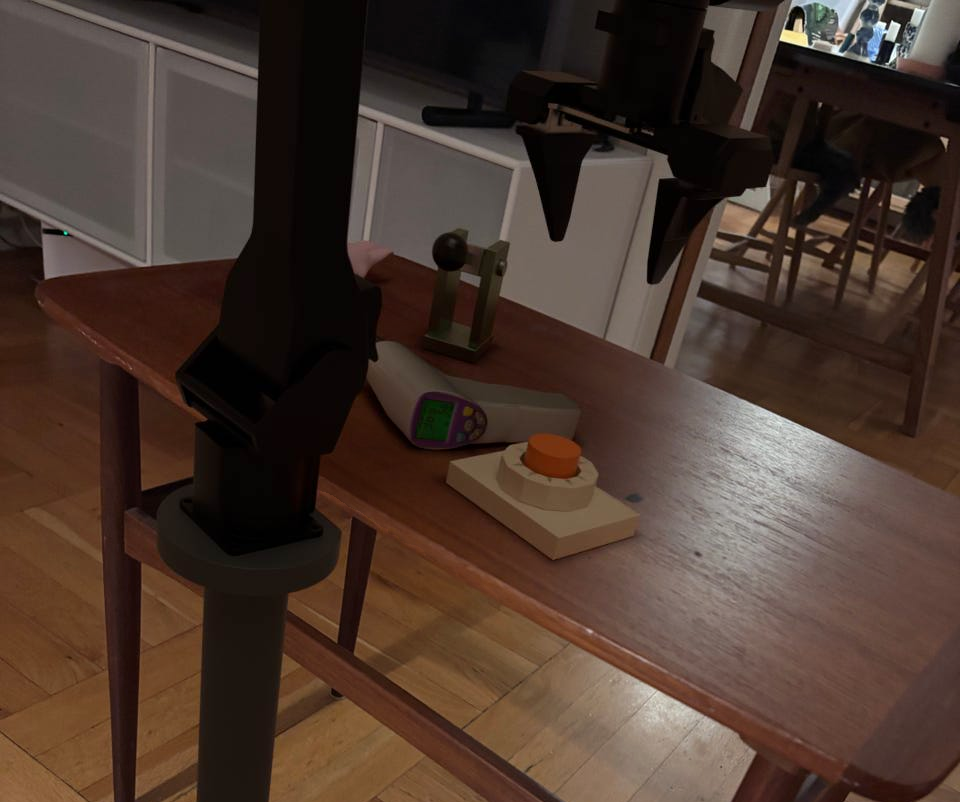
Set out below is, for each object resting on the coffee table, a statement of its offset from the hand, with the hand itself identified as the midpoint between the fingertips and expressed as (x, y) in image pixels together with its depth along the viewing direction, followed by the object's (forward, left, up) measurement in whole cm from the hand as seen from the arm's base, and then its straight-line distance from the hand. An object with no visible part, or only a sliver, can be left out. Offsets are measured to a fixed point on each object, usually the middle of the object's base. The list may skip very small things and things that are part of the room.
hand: (603, 261), depth 69 cm
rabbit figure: (+4, +37, -15) cm, 40 cm away
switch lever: (+3, +18, -7) cm, 19 cm away
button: (-9, -7, -11) cm, 16 cm away
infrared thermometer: (-4, +7, -15) cm, 16 cm away
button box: (-9, -7, -14) cm, 18 cm away
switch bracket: (+6, +20, -14) cm, 25 cm away
